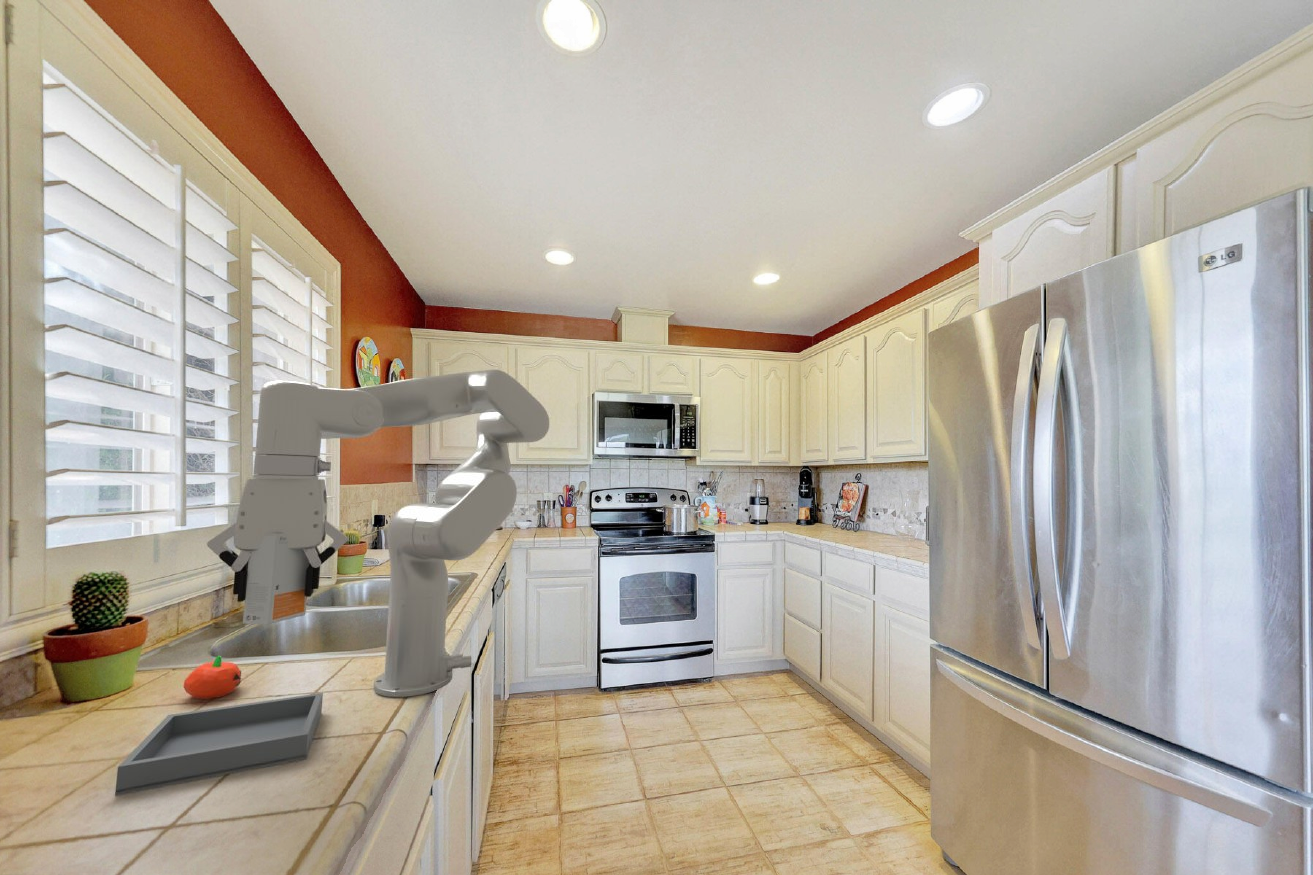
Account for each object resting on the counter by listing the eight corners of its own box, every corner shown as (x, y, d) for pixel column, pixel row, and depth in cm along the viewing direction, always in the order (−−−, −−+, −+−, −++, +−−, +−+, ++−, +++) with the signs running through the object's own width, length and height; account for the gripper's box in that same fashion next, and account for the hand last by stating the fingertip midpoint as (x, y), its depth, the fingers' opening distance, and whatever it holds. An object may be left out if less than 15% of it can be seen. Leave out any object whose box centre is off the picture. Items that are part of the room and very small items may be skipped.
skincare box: (268, 625, 67) (275, 533, 68) (241, 624, 68) (248, 533, 69) (307, 614, 73) (313, 530, 74) (282, 613, 74) (288, 530, 75)
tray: (321, 713, 78) (322, 692, 78) (306, 759, 65) (307, 734, 66) (166, 738, 70) (168, 714, 70) (114, 795, 57) (117, 766, 58)
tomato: (228, 686, 89) (237, 647, 90) (244, 698, 84) (253, 657, 85) (174, 694, 83) (184, 652, 84) (188, 707, 78) (199, 663, 80)
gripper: (359, 470, 80) (351, 587, 78) (217, 467, 72) (205, 596, 70) (356, 470, 73) (347, 597, 71) (199, 466, 65) (185, 609, 63)
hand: (277, 595), depth 71 cm, fingers closed on skincare box, 6 cm apart
